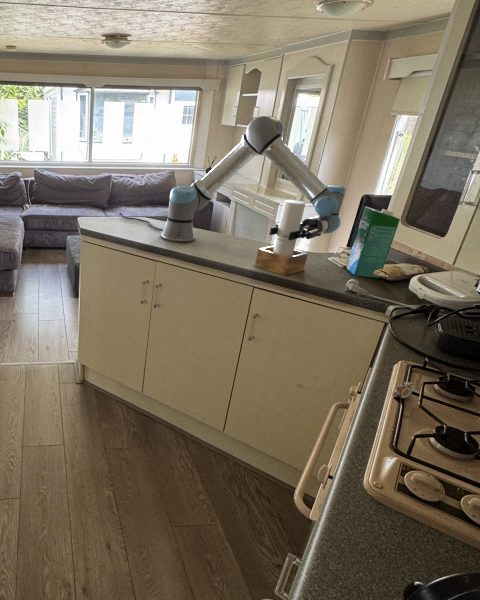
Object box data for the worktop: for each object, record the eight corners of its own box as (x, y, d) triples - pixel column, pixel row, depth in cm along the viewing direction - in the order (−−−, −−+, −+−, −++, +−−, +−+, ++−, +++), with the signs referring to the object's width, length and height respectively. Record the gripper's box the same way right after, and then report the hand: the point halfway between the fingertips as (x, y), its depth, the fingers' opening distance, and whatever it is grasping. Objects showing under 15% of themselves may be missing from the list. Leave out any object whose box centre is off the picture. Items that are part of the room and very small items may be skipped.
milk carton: (379, 278, 163) (402, 212, 153) (354, 275, 165) (374, 210, 155) (370, 270, 171) (391, 207, 161) (345, 267, 173) (365, 205, 163)
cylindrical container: (288, 269, 165) (304, 204, 155) (268, 266, 168) (283, 202, 158) (290, 265, 170) (306, 201, 160) (271, 261, 174) (286, 199, 164)
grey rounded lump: (403, 392, 95) (410, 377, 93) (411, 399, 92) (418, 383, 91) (390, 392, 94) (397, 377, 93) (398, 399, 92) (404, 383, 91)
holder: (254, 265, 171) (258, 248, 168) (273, 260, 178) (277, 244, 175) (284, 275, 161) (289, 258, 159) (303, 270, 168) (308, 253, 165)
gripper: (335, 242, 167) (303, 250, 155) (287, 230, 182) (255, 237, 170) (340, 223, 164) (308, 230, 152) (292, 212, 179) (259, 218, 167)
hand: (280, 233), depth 161 cm, fingers closed on cylindrical container, 7 cm apart
